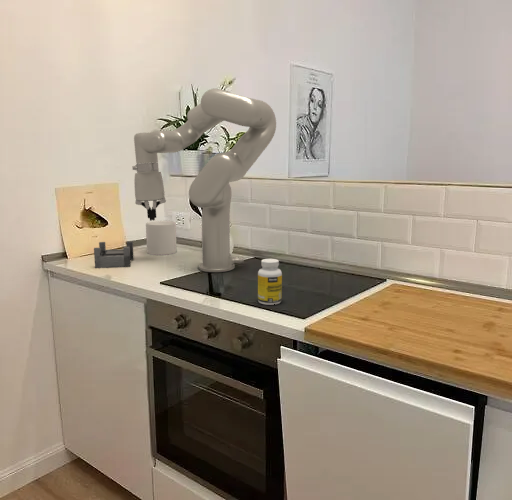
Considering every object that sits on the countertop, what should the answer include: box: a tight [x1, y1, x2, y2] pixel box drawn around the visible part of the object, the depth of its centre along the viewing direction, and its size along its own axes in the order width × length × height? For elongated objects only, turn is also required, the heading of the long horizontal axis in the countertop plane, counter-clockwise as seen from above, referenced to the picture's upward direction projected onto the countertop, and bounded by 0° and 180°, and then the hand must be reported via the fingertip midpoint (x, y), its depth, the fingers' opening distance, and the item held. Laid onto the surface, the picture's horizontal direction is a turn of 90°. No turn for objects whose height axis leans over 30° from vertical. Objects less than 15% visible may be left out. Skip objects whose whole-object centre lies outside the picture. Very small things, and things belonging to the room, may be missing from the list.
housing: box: [93, 240, 135, 269], centre depth 183 cm, size 12×12×7 cm
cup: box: [145, 220, 177, 256], centre depth 202 cm, size 12×12×12 cm
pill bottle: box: [257, 258, 283, 306], centre depth 137 cm, size 6×6×12 cm
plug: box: [106, 251, 124, 256], centre depth 183 cm, size 9×5×4 cm, turn 98°
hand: (152, 220), depth 182 cm, fingers closed
